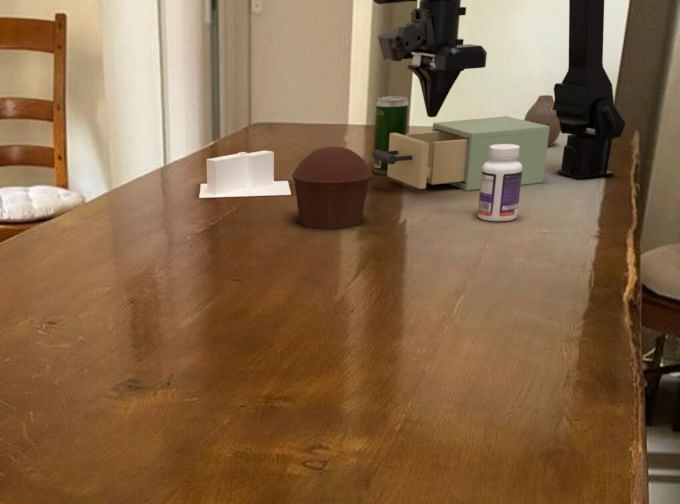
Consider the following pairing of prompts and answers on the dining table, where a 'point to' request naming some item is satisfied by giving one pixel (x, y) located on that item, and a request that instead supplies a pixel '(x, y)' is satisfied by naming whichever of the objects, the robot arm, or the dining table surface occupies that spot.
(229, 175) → the napkin holder
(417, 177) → the drawer
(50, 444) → the dining table surface
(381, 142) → the beer can
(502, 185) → the pill bottle
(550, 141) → the vase
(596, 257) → the dining table surface
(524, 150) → the cabinet
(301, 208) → the muffin
